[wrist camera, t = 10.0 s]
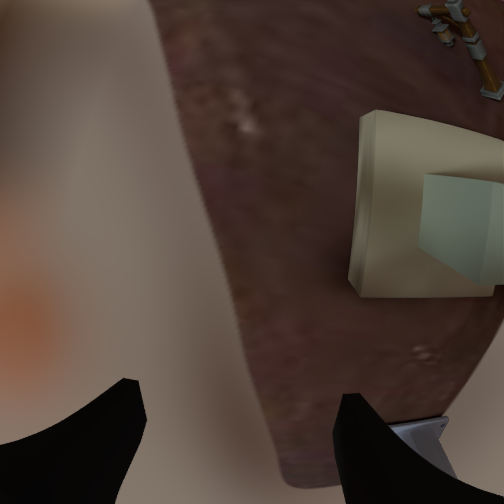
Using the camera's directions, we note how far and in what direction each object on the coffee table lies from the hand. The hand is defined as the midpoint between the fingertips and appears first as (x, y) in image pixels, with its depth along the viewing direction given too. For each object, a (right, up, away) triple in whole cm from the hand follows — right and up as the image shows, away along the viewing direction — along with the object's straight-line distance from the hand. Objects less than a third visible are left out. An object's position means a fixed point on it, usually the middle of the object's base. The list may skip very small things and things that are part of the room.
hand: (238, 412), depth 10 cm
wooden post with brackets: (+15, +19, +5) cm, 25 cm away
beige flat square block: (+12, +8, +8) cm, 16 cm away
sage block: (+12, +8, +5) cm, 15 cm away
